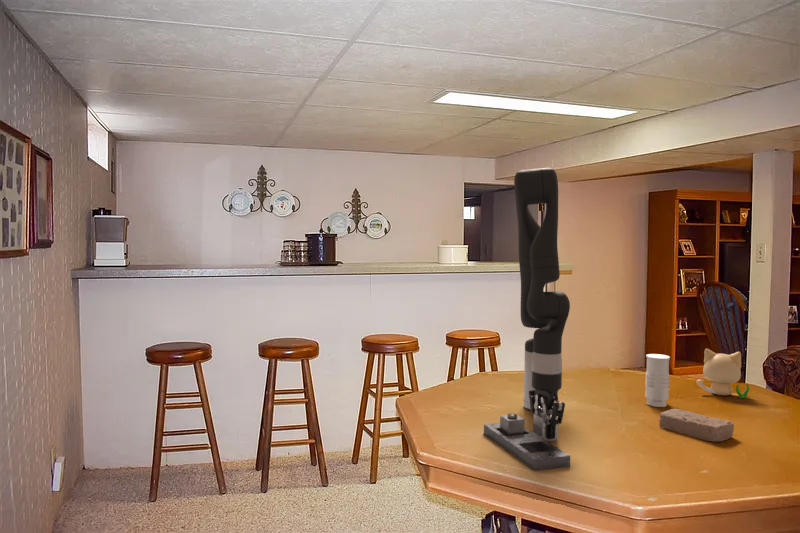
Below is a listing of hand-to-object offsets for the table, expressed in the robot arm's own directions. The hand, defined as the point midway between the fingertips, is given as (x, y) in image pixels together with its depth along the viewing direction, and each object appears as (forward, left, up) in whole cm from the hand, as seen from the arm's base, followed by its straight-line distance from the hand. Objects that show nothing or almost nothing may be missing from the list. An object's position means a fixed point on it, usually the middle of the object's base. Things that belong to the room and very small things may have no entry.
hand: (545, 435), depth 156 cm
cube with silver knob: (0, 0, -1) cm, 1 cm away
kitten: (-79, -21, -1) cm, 82 cm away
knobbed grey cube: (+9, -1, -1) cm, 9 cm away
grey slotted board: (+9, +5, -1) cm, 10 cm away
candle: (-50, -18, -1) cm, 53 cm away
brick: (-41, +7, -1) cm, 42 cm away
